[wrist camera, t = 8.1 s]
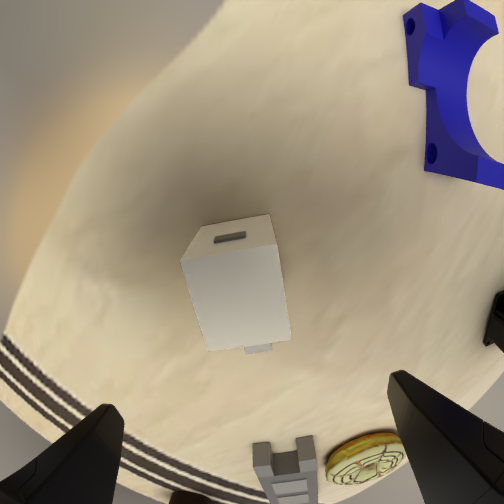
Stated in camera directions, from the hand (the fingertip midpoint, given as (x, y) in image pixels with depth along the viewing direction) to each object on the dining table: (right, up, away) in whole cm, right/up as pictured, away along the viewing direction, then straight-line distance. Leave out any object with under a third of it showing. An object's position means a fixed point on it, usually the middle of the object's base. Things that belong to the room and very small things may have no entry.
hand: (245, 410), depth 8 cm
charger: (0, +3, +12) cm, 12 cm away
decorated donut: (+14, -20, +21) cm, 33 cm away
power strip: (+5, -25, +22) cm, 34 cm away
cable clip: (+13, +16, +8) cm, 22 cm away
